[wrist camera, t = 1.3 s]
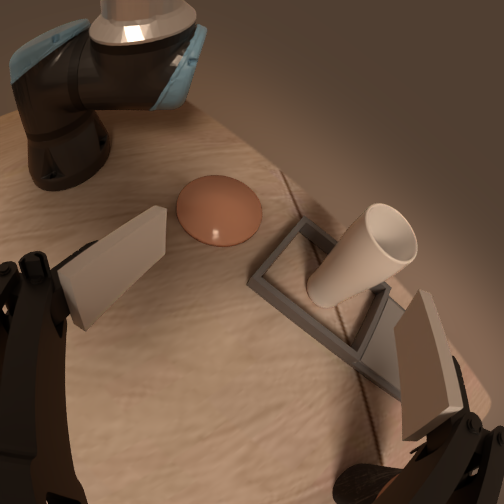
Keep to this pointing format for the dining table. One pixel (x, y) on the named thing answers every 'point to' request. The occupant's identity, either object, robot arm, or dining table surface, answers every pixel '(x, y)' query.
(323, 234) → the open case
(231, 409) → the dining table surface
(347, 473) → the travel mug
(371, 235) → the drinking glass
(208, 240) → the coaster
